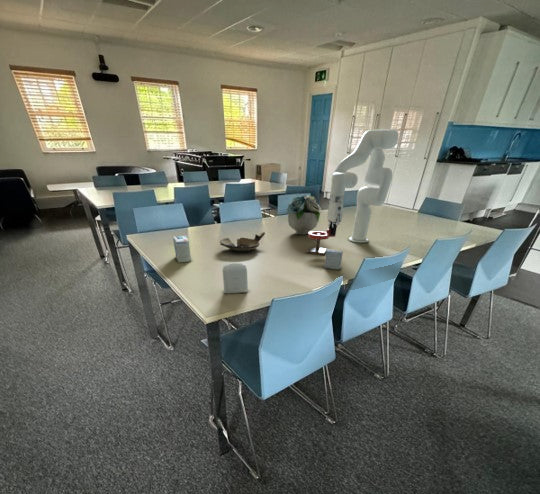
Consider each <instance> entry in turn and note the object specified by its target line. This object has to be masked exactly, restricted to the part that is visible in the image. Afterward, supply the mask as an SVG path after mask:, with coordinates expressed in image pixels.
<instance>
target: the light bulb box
mask: <svg viewBox="0 0 540 494" xmlns="http://www.w3.org/2000/svg"><path fill="white" fill-rule="evenodd" d="M172 240H173V247H174V253H175V258H176V260H177V262H178V263H186V262H187V263H188V262H192V258H191V250H190V249H191V248H190V241H189V239H188V238H187V236H186V235H178V236H172Z"/></svg>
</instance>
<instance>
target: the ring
mask: <svg viewBox="0 0 540 494" xmlns="http://www.w3.org/2000/svg"><path fill="white" fill-rule="evenodd" d="M330 232H331V229H329V228H326V231H322V230H310V231H309V232H308V234H307V238H309V239H312V240H317V239H318V240H320V241H321V240H328V239H329V238H332V237H334V238H335V237H336V234H335V235H330ZM318 233H319V234H321V235H317V234H318Z"/></svg>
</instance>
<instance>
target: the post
mask: <svg viewBox="0 0 540 494" xmlns="http://www.w3.org/2000/svg"><path fill="white" fill-rule="evenodd" d="M317 235H321V234H319V233H318V234H317ZM315 242H316V243H315V246H310V247H309V248H308V249H307V250H306V254H311V255H320V256H324V255H326V251H327V250H328V248H325V247H320V244H321V243H320V242H321V240H318V239H315Z"/></svg>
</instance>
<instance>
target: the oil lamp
mask: <svg viewBox="0 0 540 494" xmlns="http://www.w3.org/2000/svg"><path fill="white" fill-rule="evenodd" d="M265 235H266V232H265V231H263V232H261V233H260V234H255V235H254V238H248V237H240V238H237V239H236V245H235V243H233V242H232V241H231V239H230V238H229V237H224V238H222V239H221V240H220V242H219V243H220V244H219V245H220V246H222V247H225V248H227V249H230V250H233V251H236V252H249V251H252V250H254V249H256V248H258V247H260V240H261V239H262V238H263V237H264V236H265Z"/></svg>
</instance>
